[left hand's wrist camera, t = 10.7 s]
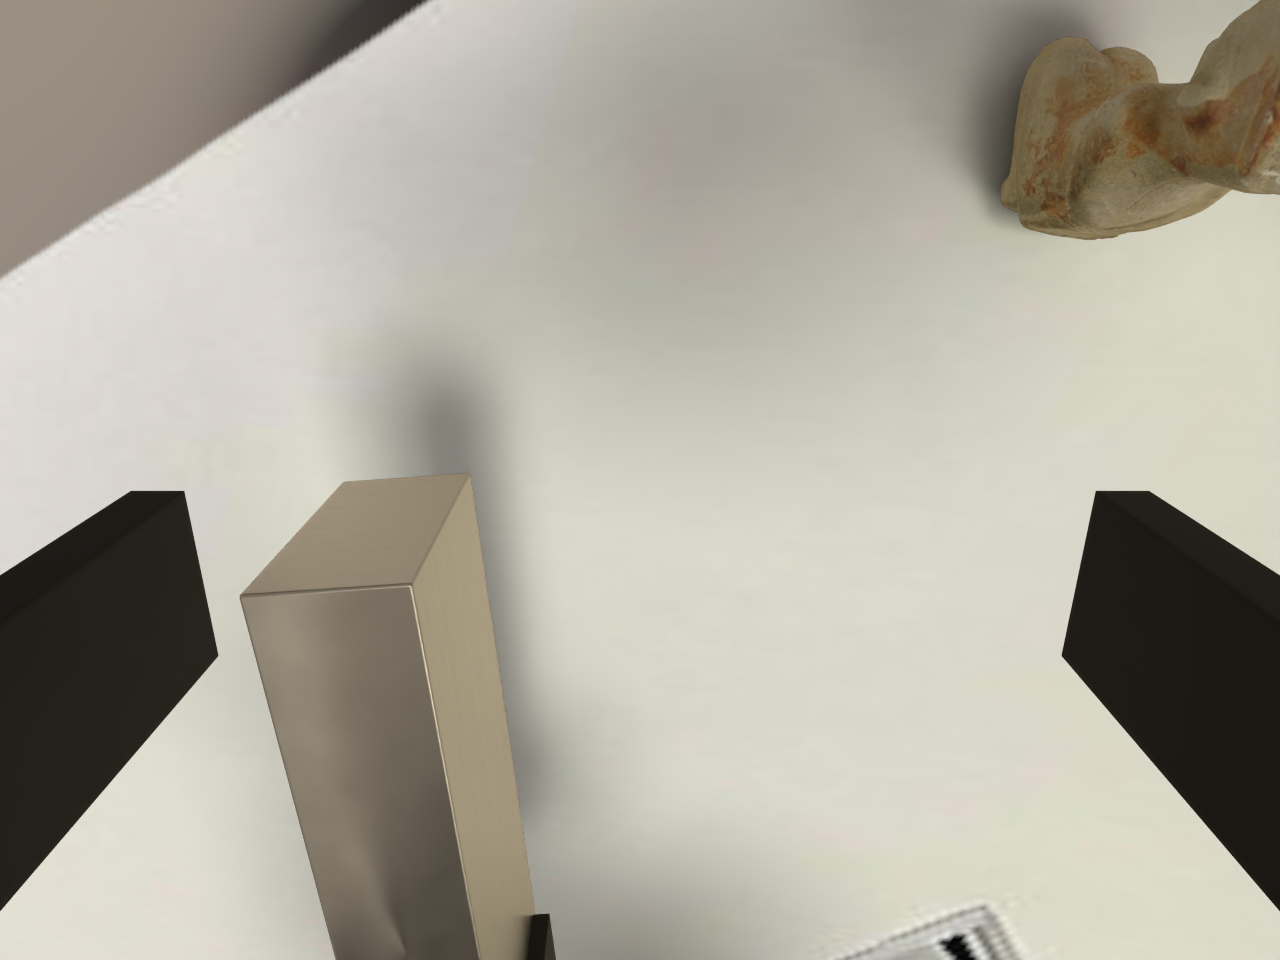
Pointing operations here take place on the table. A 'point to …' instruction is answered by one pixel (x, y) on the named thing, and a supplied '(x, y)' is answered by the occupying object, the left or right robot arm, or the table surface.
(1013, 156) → the sculpture
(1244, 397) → the table surface
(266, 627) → the bar
